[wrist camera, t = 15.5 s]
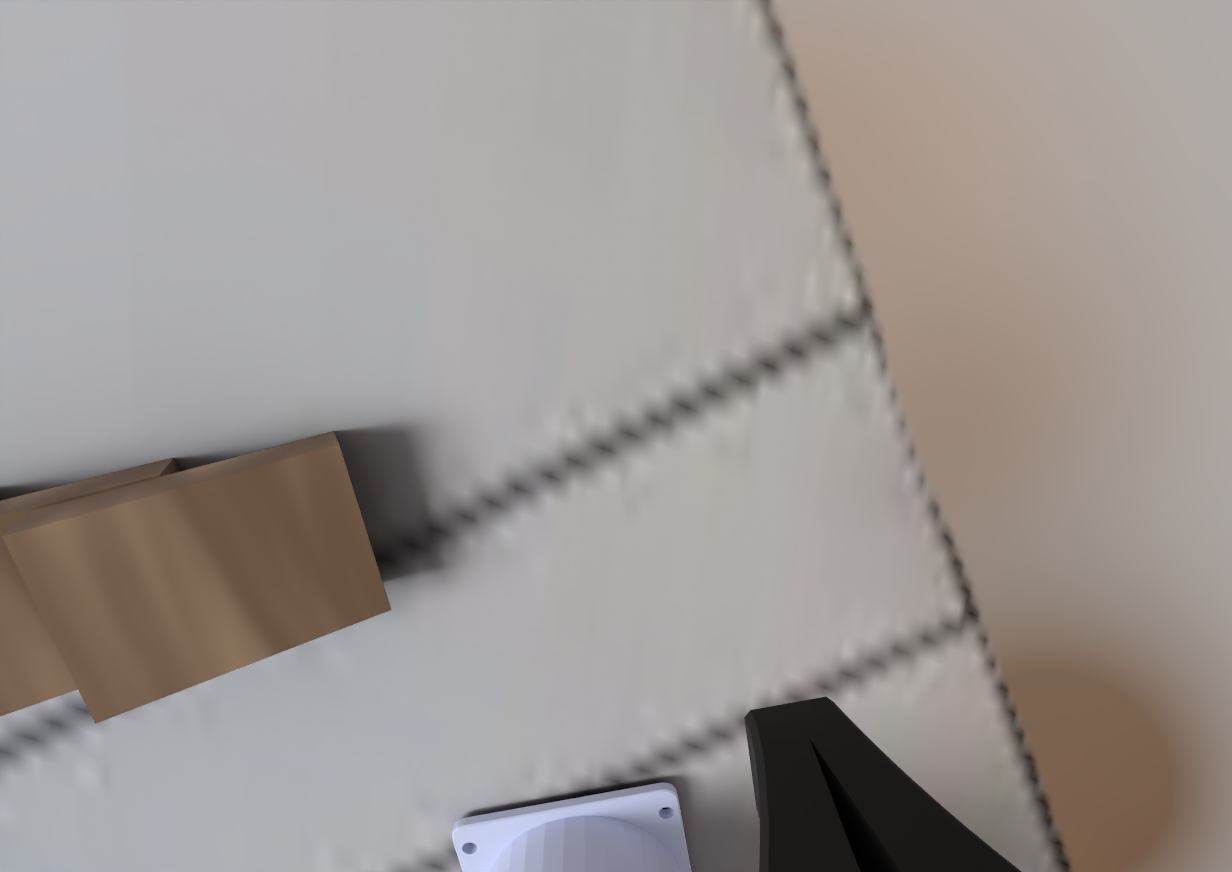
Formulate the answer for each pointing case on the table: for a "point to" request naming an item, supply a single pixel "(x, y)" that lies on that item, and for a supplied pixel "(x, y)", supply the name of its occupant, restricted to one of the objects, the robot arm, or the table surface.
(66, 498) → the domino
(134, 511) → the end domino
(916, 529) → the table surface
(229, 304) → the table surface
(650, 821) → the robot arm
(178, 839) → the table surface
